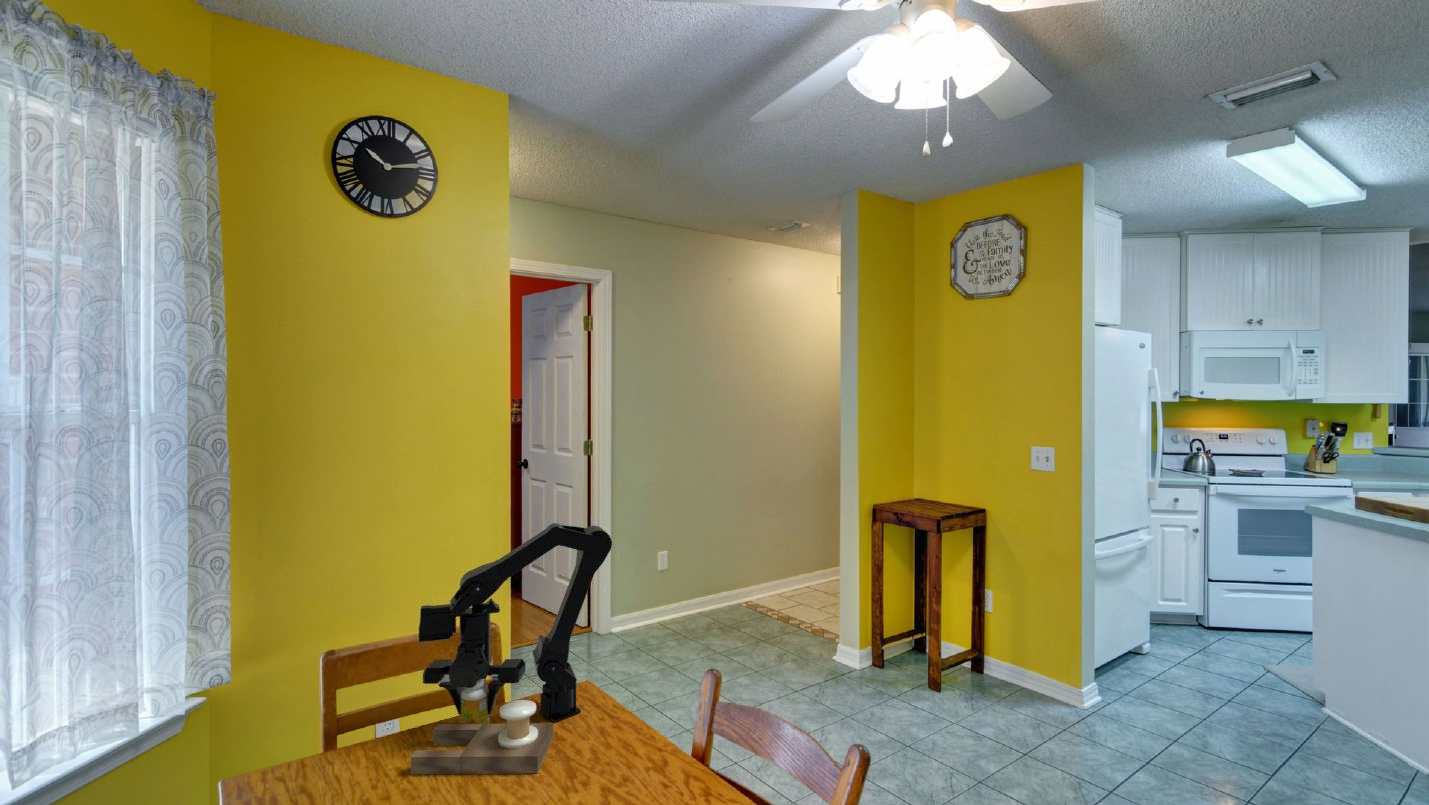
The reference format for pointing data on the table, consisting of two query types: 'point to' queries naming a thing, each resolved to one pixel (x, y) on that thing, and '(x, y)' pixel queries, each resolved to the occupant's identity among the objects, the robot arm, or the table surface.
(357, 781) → the table surface
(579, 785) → the table surface
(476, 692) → the supplement bottle
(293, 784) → the table surface
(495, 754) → the notched board
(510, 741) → the bobbin
